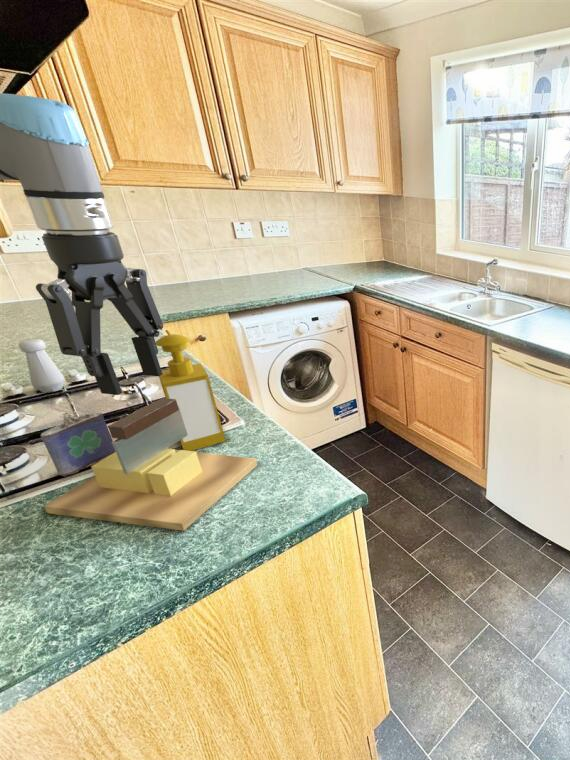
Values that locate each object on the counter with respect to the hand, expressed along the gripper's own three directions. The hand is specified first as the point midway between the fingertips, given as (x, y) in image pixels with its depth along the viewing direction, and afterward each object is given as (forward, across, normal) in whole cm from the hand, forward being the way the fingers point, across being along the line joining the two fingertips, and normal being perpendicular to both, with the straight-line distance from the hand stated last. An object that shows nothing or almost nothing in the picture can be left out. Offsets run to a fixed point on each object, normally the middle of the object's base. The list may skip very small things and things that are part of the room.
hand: (133, 383), depth 67 cm
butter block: (+19, 0, +5) cm, 20 cm away
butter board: (+21, 0, +2) cm, 21 cm away
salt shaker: (+21, +29, +59) cm, 69 cm away
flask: (+21, +4, +21) cm, 30 cm away
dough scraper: (+13, 0, 0) cm, 13 cm away
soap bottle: (+21, +17, +9) cm, 28 cm away
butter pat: (+19, 0, -2) cm, 20 cm away
